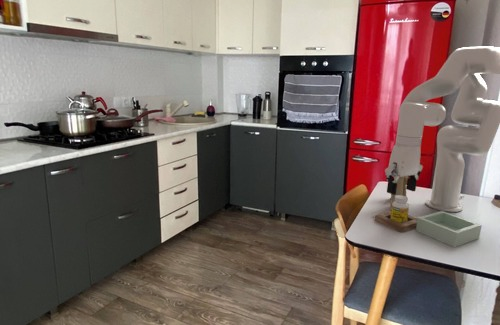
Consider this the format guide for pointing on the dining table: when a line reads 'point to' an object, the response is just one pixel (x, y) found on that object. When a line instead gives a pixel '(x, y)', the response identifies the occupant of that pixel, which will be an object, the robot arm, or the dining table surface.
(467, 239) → the bin
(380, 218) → the holder
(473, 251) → the dining table surface
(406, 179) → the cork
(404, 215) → the supplement bottle
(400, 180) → the handle
